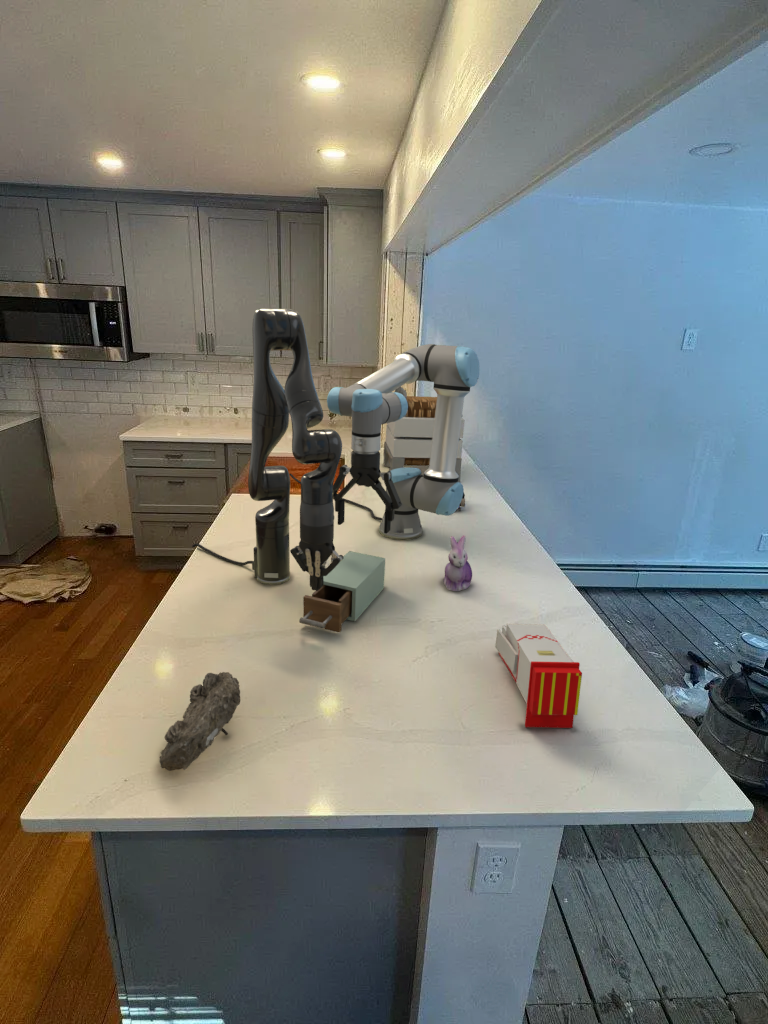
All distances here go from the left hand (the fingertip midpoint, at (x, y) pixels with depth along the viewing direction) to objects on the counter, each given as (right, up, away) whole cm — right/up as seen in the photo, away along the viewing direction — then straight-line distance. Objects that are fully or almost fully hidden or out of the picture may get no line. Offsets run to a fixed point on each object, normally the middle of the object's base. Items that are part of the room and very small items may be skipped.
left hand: (316, 588), depth 131 cm
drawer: (+3, -8, +12) cm, 15 cm away
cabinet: (+7, -6, +22) cm, 24 cm away
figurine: (+37, -3, +33) cm, 50 cm away
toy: (+47, -19, -10) cm, 52 cm away
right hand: (+10, +14, +22) cm, 28 cm away
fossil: (-17, -23, -27) cm, 39 cm away
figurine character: (+44, +20, +99) cm, 110 cm away
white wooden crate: (+33, +37, +143) cm, 152 cm away
